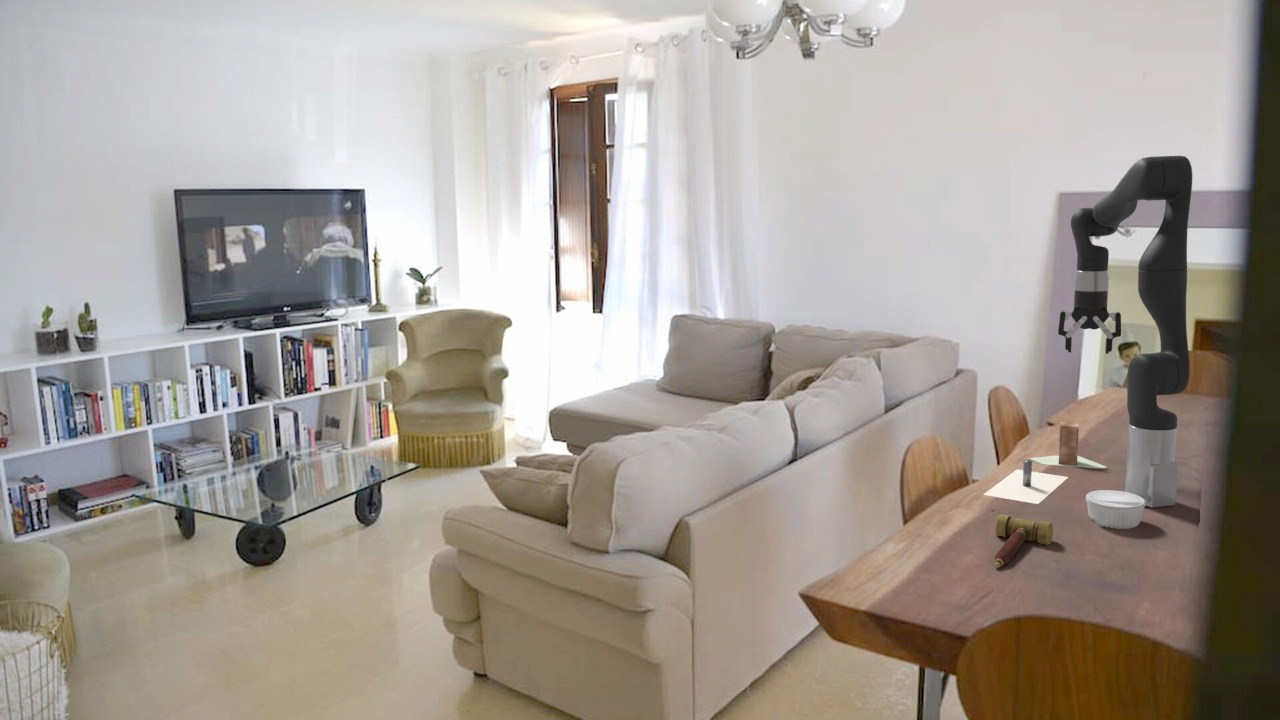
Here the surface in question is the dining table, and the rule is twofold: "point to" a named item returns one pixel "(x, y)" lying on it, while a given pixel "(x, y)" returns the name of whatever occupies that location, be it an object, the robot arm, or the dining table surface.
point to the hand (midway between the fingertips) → (1088, 352)
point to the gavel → (1019, 535)
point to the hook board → (1026, 492)
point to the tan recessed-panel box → (1068, 443)
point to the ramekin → (1115, 508)
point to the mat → (1055, 461)
